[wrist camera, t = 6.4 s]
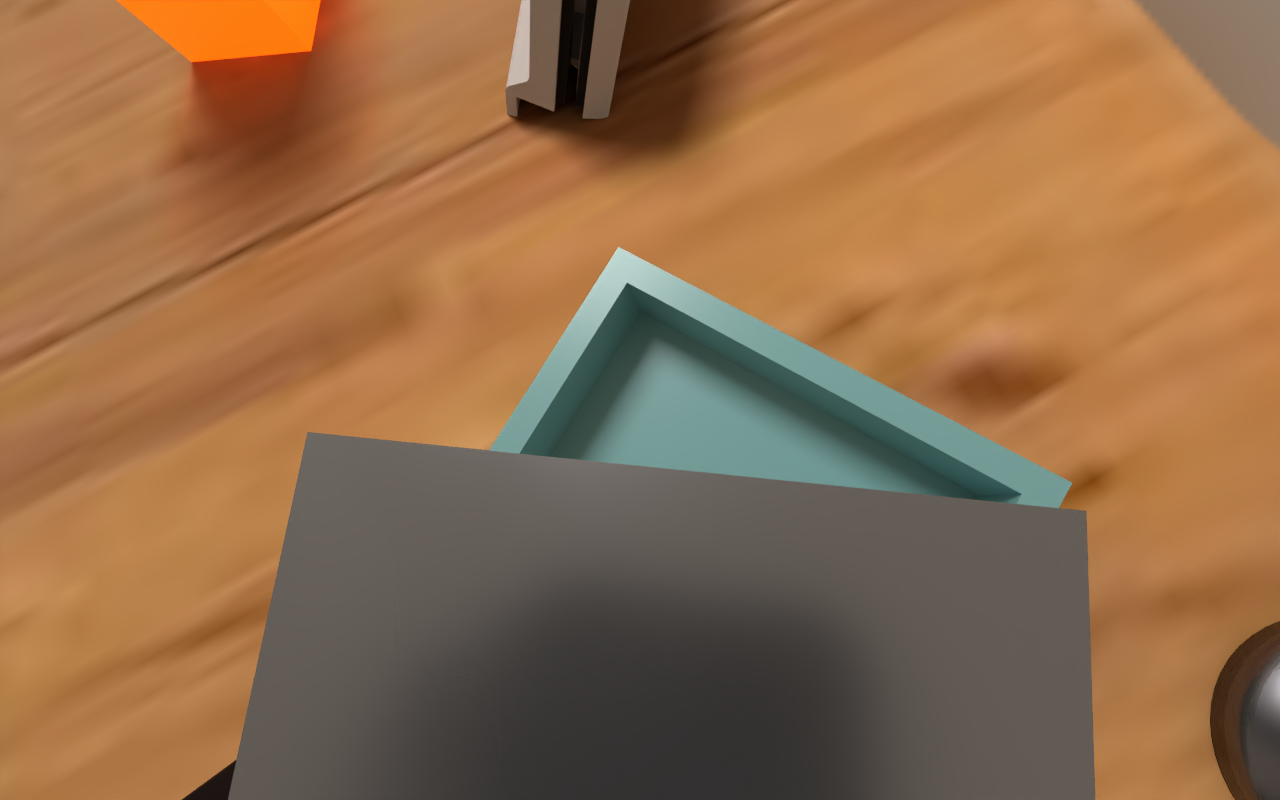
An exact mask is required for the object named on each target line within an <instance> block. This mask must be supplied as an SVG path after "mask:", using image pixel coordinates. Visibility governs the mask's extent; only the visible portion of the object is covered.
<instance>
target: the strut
mask: <svg viewBox="0 0 1280 800" xmlns="http://www.w3.org/2000/svg"><path fill="white" fill-rule="evenodd" d="M228 800H1095V777H1094V745H1093V713H1092V680H1091V648H1090V616H1089V583H1088V551H1087V519H1086V511H1081V510H1072V509H1062V508H1052V507H1042V506H1032V505H1022V504H1012V503H1002V502H992V501H983V500H973V499H963V498H953V497H943V496H933V495H923V494H913V493H903V492H894V491H884V490H874V489H864V488H854V487H844V486H834V485H824V484H814V483H805V482H795V481H785V480H775V479H765V478H755V477H745V476H735V475H725V474H716V473H706V472H696V471H686V470H676V469H666V468H656V467H646V466H636V465H627V464H617V463H607V462H597V461H587V460H577V459H567V458H557V457H547V456H538V455H528V454H518V453H508V452H498V451H488V450H478V449H468V448H458V447H449V446H439V445H429V444H419V443H409V442H399V441H389V440H379V439H370V438H360V437H350V436H340V435H330V434H320V433H310V432H308V433H307V438H306V442H305V447H304V451H303V456H302V461H301V465H300V470H299V475H298V479H297V484H296V488H295V493H294V498H293V502H292V507H291V511H290V516H289V521H288V525H287V530H286V534H285V539H284V544H283V548H282V553H281V557H280V562H279V567H278V571H277V576H276V580H275V585H274V590H273V594H272V599H271V604H270V608H269V613H268V617H267V622H266V627H265V631H264V636H263V640H262V645H261V650H260V654H259V659H258V663H257V668H256V673H255V677H254V682H253V686H252V691H251V696H250V700H249V705H248V709H247V714H246V719H245V723H244V728H243V733H242V737H241V742H240V746H239V751H238V756H237V760H236V765H235V769H234V774H233V779H232V783H231V788H230V792H229V797H228Z"/></svg>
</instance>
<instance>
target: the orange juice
mask: <svg viewBox="0 0 1280 800" xmlns="http://www.w3.org/2000/svg"><path fill="white" fill-rule="evenodd" d="M117 1H118V2H119V3H120V4H122V5H123V6H124V7H125V8H127V9H128V10H129V11H130V12H131V13H133V14H134V15H135V16H136V17H137V18H139V19H140V20H141V21H142V22H144V23H145V24H146V25H147V26H148V27H150V28H151V29H152V30H153V31H155V32H156V33H157V34H158V35H159V36H161V37H162V38H163V39H164V40H166V41H167V42H168V43H169V44H170V45H172V46H173V47H174V48H175V49H176V50H178V51H179V52H180V53H181V54H183V55H184V56H185V57H186V58H187V59H189V60H190V61H191V62H198V61H209V60H219V59H230V58H241V57H252V56H262V55H273V54H284V53H294V52H305V51H311V49H312V44H313V39H314V33H315V28H316V22H317V17H318V12H319V6H320V1H321V0H117Z"/></svg>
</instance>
